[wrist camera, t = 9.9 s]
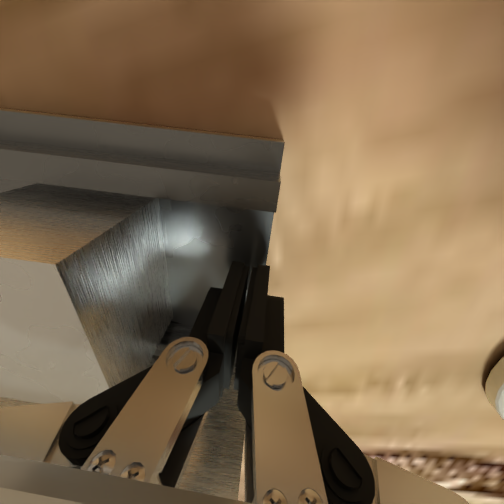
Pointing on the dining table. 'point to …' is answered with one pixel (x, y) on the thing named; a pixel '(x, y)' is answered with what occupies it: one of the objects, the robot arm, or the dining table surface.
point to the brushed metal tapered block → (78, 291)
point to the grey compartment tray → (167, 225)
